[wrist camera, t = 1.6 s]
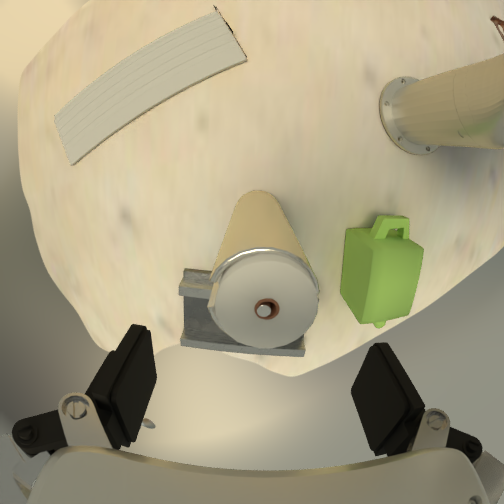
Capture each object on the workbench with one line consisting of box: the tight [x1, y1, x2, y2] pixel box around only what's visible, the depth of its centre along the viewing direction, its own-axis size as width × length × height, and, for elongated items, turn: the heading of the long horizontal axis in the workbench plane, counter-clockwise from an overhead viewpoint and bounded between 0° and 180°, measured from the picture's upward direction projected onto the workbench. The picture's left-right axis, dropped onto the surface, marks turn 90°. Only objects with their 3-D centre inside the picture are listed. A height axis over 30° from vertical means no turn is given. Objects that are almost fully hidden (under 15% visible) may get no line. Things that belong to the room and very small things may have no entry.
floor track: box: [179, 268, 319, 357], centre depth 41 cm, size 20×13×4 cm, turn 84°
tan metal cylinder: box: [207, 191, 320, 348], centre depth 26 cm, size 6×6×25 cm
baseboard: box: [54, 7, 247, 166], centre depth 30 cm, size 31×3×12 cm
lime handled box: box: [340, 215, 424, 328], centre depth 36 cm, size 18×10×10 cm, turn 2°
